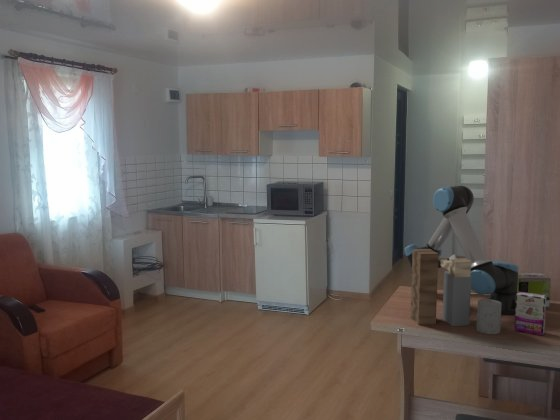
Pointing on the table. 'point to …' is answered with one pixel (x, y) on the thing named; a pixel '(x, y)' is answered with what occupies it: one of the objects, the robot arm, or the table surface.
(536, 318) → the candy bar box
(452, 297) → the grey pedestal
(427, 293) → the walnut plinth
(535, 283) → the tea box
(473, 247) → the robot arm
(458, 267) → the tan wooden bar
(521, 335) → the table surface
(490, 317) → the concrete cylinder
